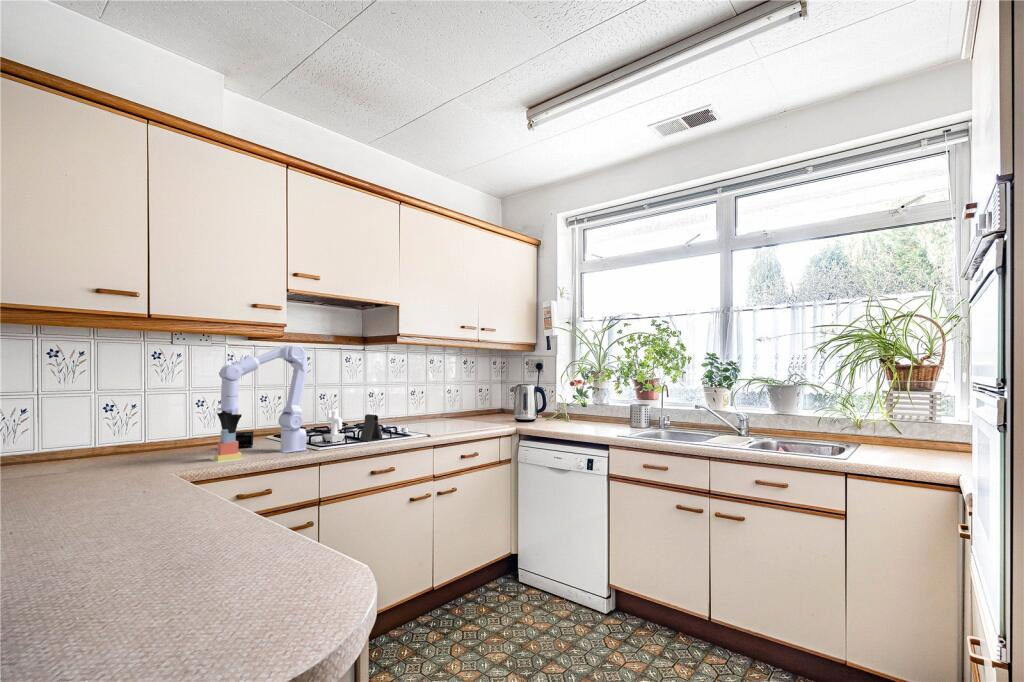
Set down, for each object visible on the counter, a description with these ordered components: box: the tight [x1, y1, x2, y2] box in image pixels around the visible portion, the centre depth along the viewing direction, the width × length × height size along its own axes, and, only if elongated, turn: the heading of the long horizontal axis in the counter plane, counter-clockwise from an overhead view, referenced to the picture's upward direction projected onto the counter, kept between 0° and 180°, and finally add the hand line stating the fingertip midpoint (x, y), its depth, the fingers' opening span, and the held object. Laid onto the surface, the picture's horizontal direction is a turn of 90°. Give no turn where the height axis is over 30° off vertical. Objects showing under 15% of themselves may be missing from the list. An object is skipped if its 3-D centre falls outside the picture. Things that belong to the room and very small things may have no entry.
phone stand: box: [359, 413, 383, 442], centre depth 241 cm, size 9×6×12 cm, turn 148°
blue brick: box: [220, 429, 237, 443], centre depth 193 cm, size 4×4×4 cm
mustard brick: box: [213, 451, 243, 461], centre depth 193 cm, size 8×5×2 cm, turn 135°
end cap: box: [236, 431, 254, 450], centre depth 217 cm, size 10×7×7 cm
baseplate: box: [210, 457, 246, 464], centre depth 193 cm, size 10×10×1 cm
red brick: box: [217, 440, 239, 455], centre depth 193 cm, size 6×4×4 cm, turn 135°
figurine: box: [322, 409, 346, 442], centre depth 233 cm, size 7×9×15 cm
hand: (228, 432), depth 193 cm, fingers open, 7 cm apart
